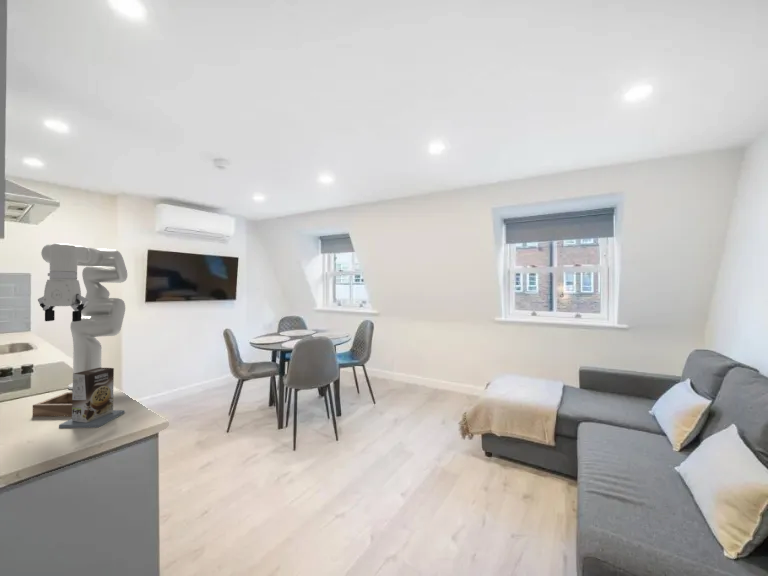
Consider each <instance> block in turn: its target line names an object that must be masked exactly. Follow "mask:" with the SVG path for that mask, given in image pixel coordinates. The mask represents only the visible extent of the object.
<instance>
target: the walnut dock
mask: <svg viewBox="0 0 768 576" xmlns="http://www.w3.org/2000/svg"><path fill="white" fill-rule="evenodd" d="M72 395H73V391H70V392H65V393H62V394H59V395H56V396H54V397H51V398H48V399H46V400H43V401H41V402H38V403H35V404H33V405H32V417H34V418H35V417H36V418H37V417H43V418H44V417H72Z"/></svg>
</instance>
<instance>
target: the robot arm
mask: <svg viewBox="0 0 768 576" xmlns="http://www.w3.org/2000/svg"><path fill="white" fill-rule="evenodd" d="M40 253H41V257H42V259H43V261H45V263H48V264H49V272H48V273H47V276H48V277H49V279H47V280H46V282H45V285H44V291H43V292H44V293H43V296H41V297H39V298H38V299H37V302H38V304H39V306H40V307H41V308H42V311H44V322H53V321H55V320H56V318H55V313H56V312H55V310H54V309H55V308H56V307H71V309H73V311H72V314H71V315H72V316H71V317H72V318H71V319H72V321H71V322H70V332H71V337H72V346H73V347H72V348H73V349H72V350H73V351H72V356H73V357H72V374H73V373H78V372H82V371H87V370H91V369H95V368H99V367H100V368H102V352H103V351H102V344H101V343H100V341H99V340H98V339H97V338H98V337H113V336H114V337H115V336H117V335H118V334H120V332H121V330H122V325H123V322H124V317H125V313H126V303H125V301H124V300H123V299H122V298H119V297H110V295H111V293H110V291H109V290H108V288H107V287H105V286H104V285H103V284H101V283H117V284H118V283H120V284H121V283H124V282H125V281H126V280H127V279H128V270H127V266H126V264H125V260H124V257H123V255H122V253H121V252H120V251H119V250H117V249H111V248H110V249H109V248H108V249H107V248H95V247H89V246H83V245H75V244H69V243H61V242H60V243H58V242H57V243H52V244H51V243H49V244H46V245H44V246H43V247H42V249H41V252H40ZM78 266H80V267H81V266H82V267H83V269H82V281H83V284H84V287H85V290H86V294H85V297H84V296H82V292H81V291H82V290H81V284H80V281H79V280H78ZM96 337H97V338H96ZM67 388H68V389H69V390H73V382H71V383H70V384H68V385H67Z"/></svg>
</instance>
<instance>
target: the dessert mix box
mask: <svg viewBox="0 0 768 576" xmlns="http://www.w3.org/2000/svg"><path fill="white" fill-rule="evenodd" d="M114 372H115V368H113V367H101V368H100V367H99V368H95V369H91V370H87V371H82V372H78V373H73V372H72V383H73V389H72V392H73V395H72V416H71V419H72V421H76V422H84V423H87V422H90V421H93V420H95V419H98V418H100V417H103V416H106V415H108V414H111V413H113V410H114V379H115V378H114V375H115V374H114Z"/></svg>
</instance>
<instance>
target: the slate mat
mask: <svg viewBox="0 0 768 576" xmlns="http://www.w3.org/2000/svg"><path fill="white" fill-rule="evenodd" d="M125 411H126V410H124V409H113V413H111V414H108V415H106V416H103V417H100V418H98V419H95V420H93V421H90V422H87V423H84V422H76V421H72V418H71V419H68V420H66V421H63V422H62V423H60V424H58V428H59V429H61V428H62V429H64V428H65V429H68V428H69V429H71V428H75V429H76V428H85V429H87V428H92V429H93V428H100V427H101V426H103V425H105V424H107V423H109V422H111V421H112V420H114V419H116V418H118V417H119V415H120V416H121V414H122V415H123V414H125V413H126V412H125ZM124 412H125V413H124ZM117 416H118V417H117Z"/></svg>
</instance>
